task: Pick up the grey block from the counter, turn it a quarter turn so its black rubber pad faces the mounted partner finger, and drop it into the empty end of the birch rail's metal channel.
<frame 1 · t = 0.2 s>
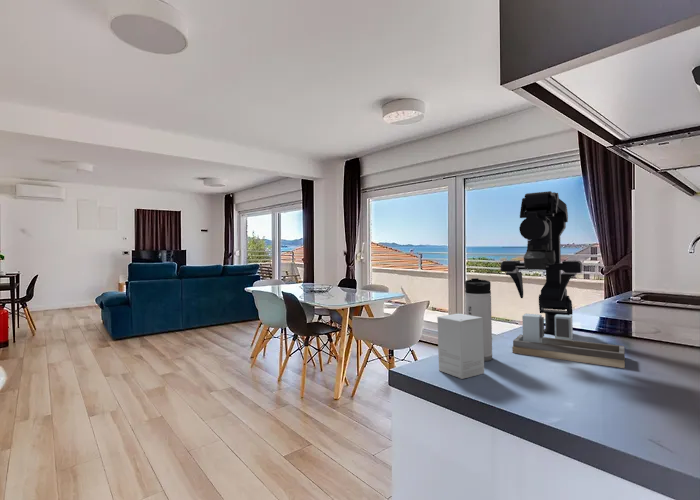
hand: (540, 299, 99), 14 cm above the counter, fingers open, 9 cm apart
supplement box: (461, 372, 85), on the counter
travel mug: (479, 358, 96), on the counter
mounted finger: (532, 344, 101), resting on rail
rail: (566, 354, 97), on the counter
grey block: (564, 343, 107), on the counter
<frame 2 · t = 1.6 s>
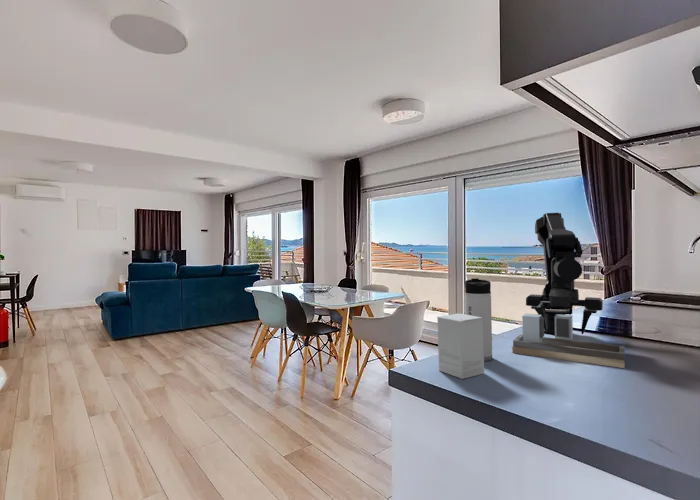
hand: (563, 332, 107), 3 cm above the counter, fingers open, 9 cm apart
nothing on the counter moved.
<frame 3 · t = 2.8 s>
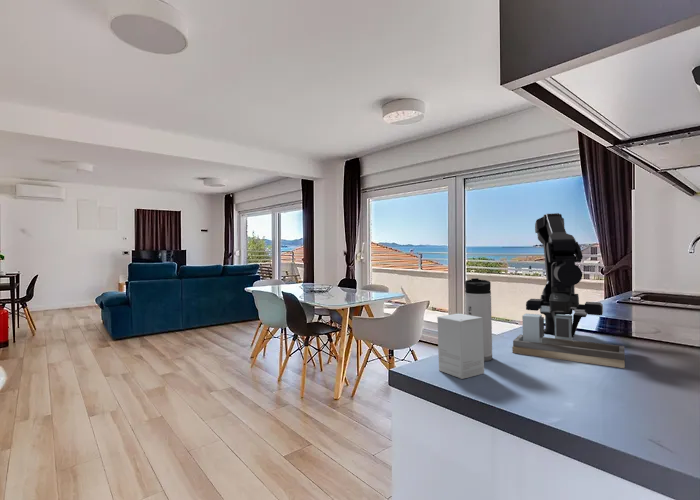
hand: (563, 336, 107), 2 cm above the counter, fingers closed on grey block, 4 cm apart
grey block: (563, 343, 107), on the counter, touching gripper
everything else where it was.
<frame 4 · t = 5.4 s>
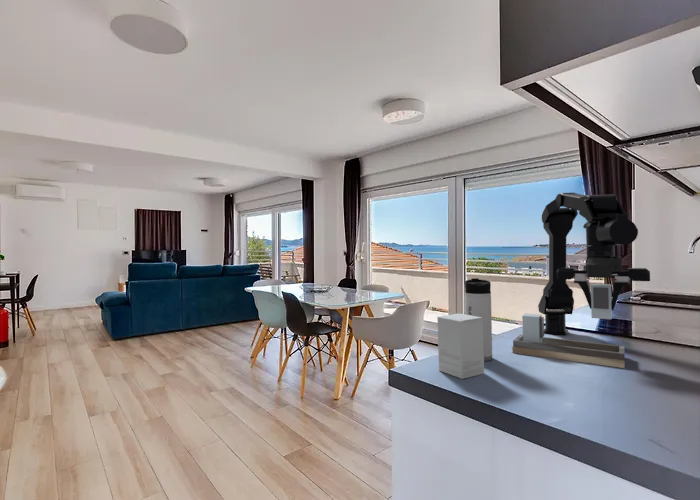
hand: (601, 309, 92), 12 cm above the counter, fingers closed on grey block, 4 cm apart
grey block: (601, 317, 92), point 10 cm above the counter, touching gripper
everything else where it was.
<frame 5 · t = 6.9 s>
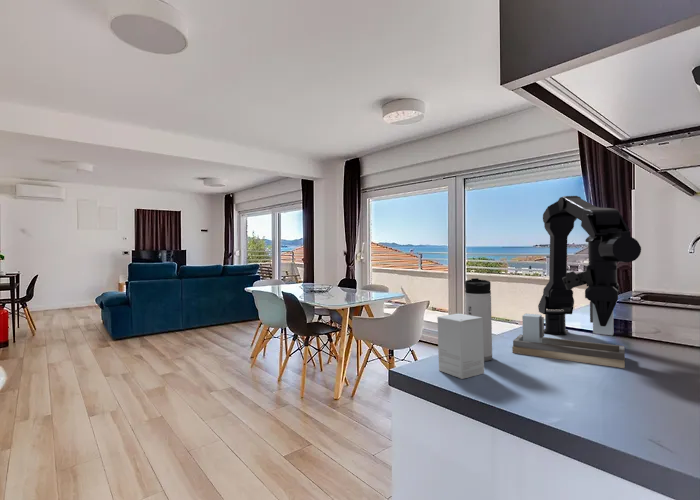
hand: (603, 324, 92), 9 cm above the counter, fingers closed on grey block, 4 cm apart
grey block: (603, 332, 92), point 7 cm above the counter, touching gripper
everything else where it was.
when the fingers open (5 cm above the counter, at t = 8.2 s): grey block drops 1 cm, resting on rail.
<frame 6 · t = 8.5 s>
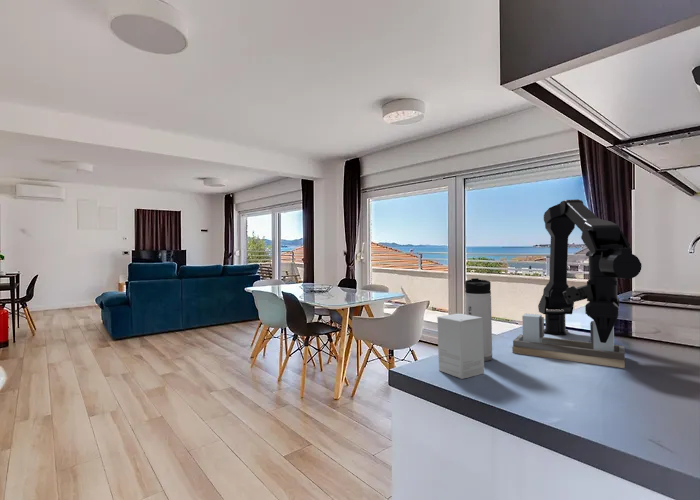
hand: (603, 339, 92), 5 cm above the counter, fingers open, 7 cm apart
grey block: (604, 353, 92), point 1 cm above the counter, touching rail
everything else where it was.
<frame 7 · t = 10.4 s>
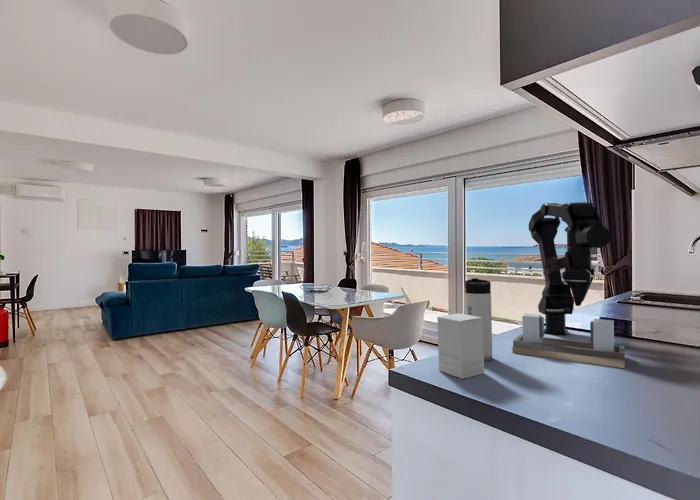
hand: (579, 303, 105), 12 cm above the counter, fingers open, 9 cm apart
nothing on the counter moved.
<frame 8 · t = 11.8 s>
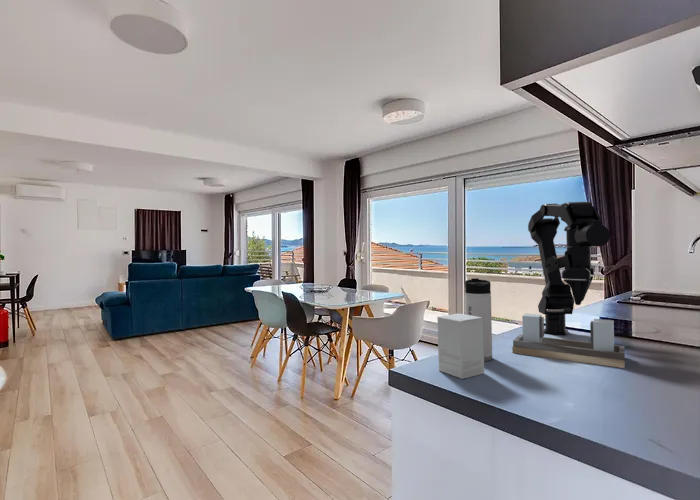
hand: (579, 302, 105), 12 cm above the counter, fingers open, 9 cm apart
nothing on the counter moved.
at the end: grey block 0.1 cm from the target spot on the rail, point 1.5 cm above the rail's base; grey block tilted 0°; the gripper is holding nothing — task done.
